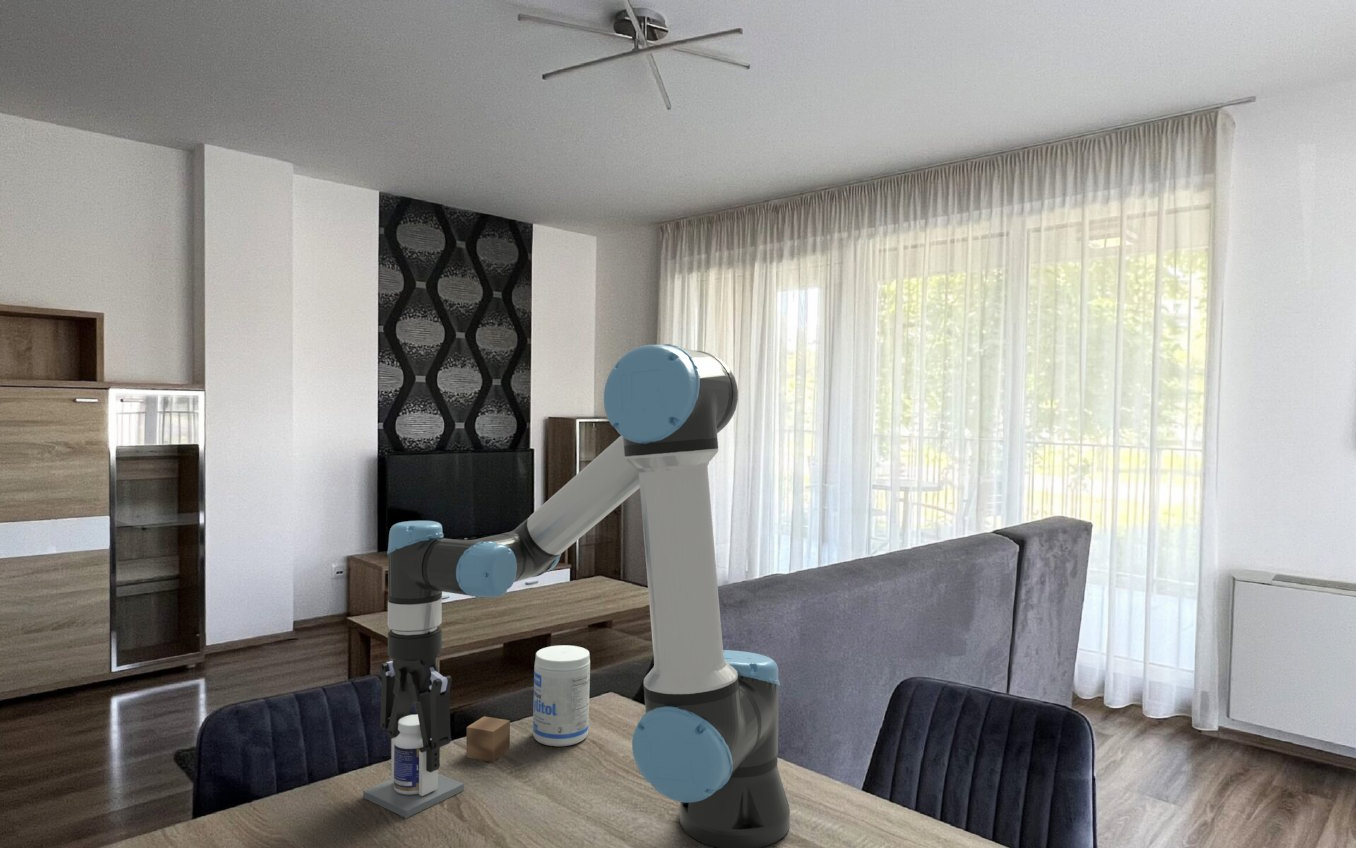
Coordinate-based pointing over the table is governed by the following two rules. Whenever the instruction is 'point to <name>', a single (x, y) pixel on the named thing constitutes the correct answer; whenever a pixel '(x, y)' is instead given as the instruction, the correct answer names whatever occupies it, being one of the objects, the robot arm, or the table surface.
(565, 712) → the supplement tub
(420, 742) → the pill bottle
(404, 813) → the slate coaster
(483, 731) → the walnut cube
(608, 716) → the table surface
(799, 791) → the table surface
